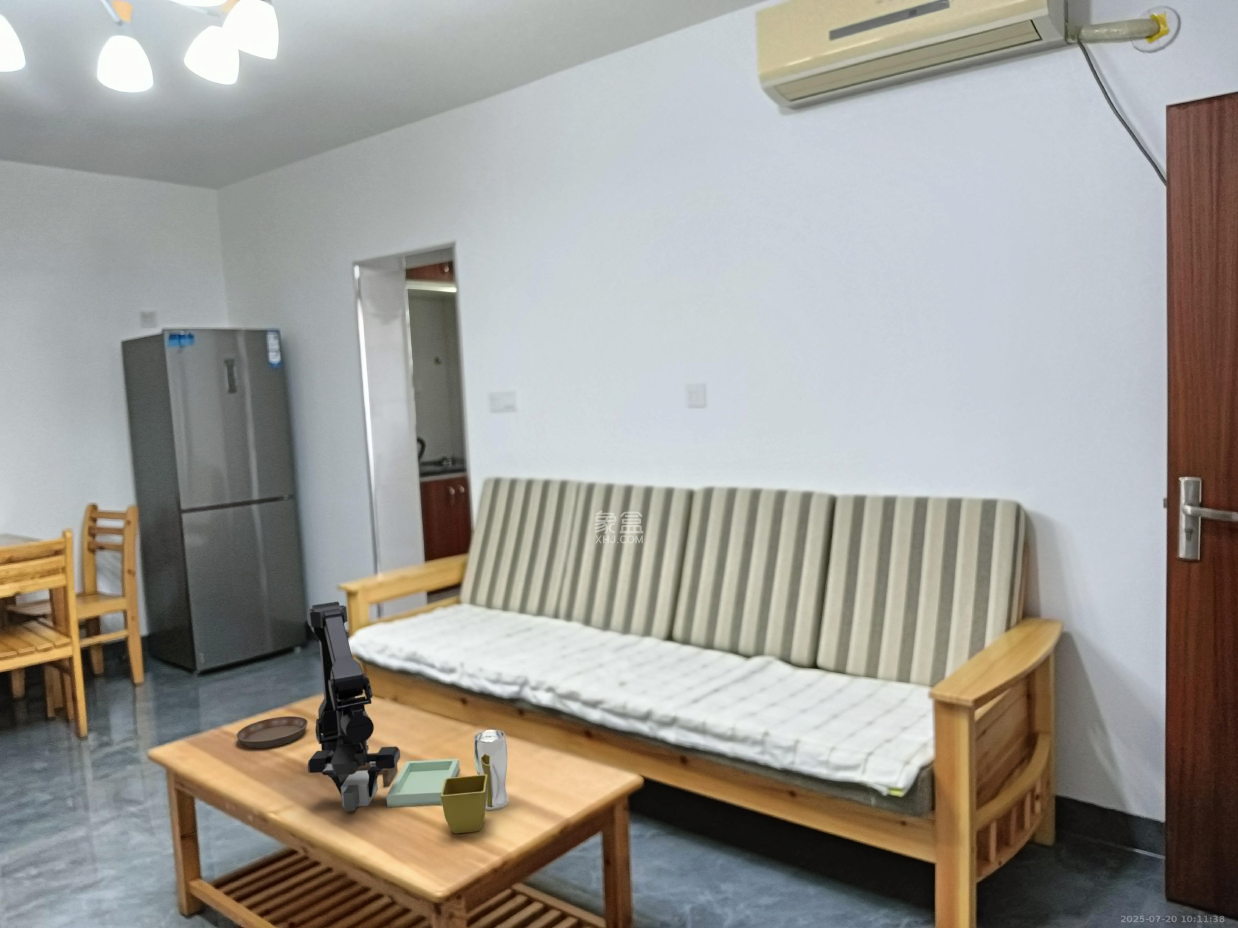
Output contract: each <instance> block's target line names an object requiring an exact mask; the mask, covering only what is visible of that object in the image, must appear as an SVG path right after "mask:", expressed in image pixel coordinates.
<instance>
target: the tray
mask: <svg viewBox="0 0 1238 928" xmlns="http://www.w3.org/2000/svg"><path fill="white" fill-rule="evenodd" d="M460 769H461V768H460V759H459V758H446V759H443V758H442V759H429V760H428V759H427V760H425V759H424V760H410V761H408V760H407V761H405V762H404V764H403V765H402V768H401V769H400V771H399V773H397V774H398V775H397V776H396V778H395V780H394V782H393V784H392V785H391V786H390V788H389V790H388V792H387V794H386V806H387V808H394V807H411V806H413V807H417V806H432V805H442V801H441V792H442V788H443V784H444V780H445V779H446V778H453V777H458V774H459V771H460Z"/></svg>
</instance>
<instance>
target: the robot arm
mask: <svg viewBox="0 0 1238 928" xmlns="http://www.w3.org/2000/svg"><path fill="white" fill-rule="evenodd" d="M347 611H348V610H347V606H346V605H344V604H343V605H340V602H339V601H332V602H326V603H325V602H324V603H318V604H312V605H311V608H310V609H309V610H306V614H307V615H306V618H307V624H308V626H309V627H310V629H311V631H312V632H313V634H314V635H315V637H316V638H317V639H318V643H319V653H320V654H319V655H320V665H321V676H322V677H321V678H322V691H323V699H322V702H321V703H320V705H319V707H318V710H317V713H318V718H316V721H315V727H314V728H315V729H314V730H315V737H316V740H317V743H318V745H320V746H321V750H316V752H314V753H313V755H312V756H311V757H310V758H309V760H308V761H307V770H308V771H307V773H309V774H313V773H314V774H315V773H316V774H317V773H322V775H323V776H328V777H329V778H331V780H332V781H333V783H334V785H335V787H336V788H337V790H338V792H339V795H340V797H342V794H341V786H342V785H343V783H344V782H345V774H348V775H352V774H354V773H356V771H357V768H359V767H360V766H365V764H366V763H370V765H371V767H370V768H369V770H368V771H367V772H368V775H369V797H372V795H373V792H374V788H375V785H376V781H377V782H378V777H379V775H380V774H379V772H381V771H382V770H383V769H390V768H394V767H395V766H396V764H397V765H398V762H400V760H401V750H400V748H399V747H397V746H396V745H395V746H383V747H382V746H381V747H380V749H379V750H378V752H374V753H372V752H370V753H368V752H369V749H370V748H369V744H368V742H367V741H368V740H369V739H370V738H371V737H372V735H373V733H374V730H375V725H374V721H373V720H372V718H371V717H370V716H369V715H368V713H367V711H366V709H365V705H366V706H367V705H370V704H372V698H373V695H374V693H373V691H372V690H373V689H372V687H371V682H370V679H369V677H368V676H367V674H366V673H365V672H363V669H362V665H361V663H360V662H359V661H357V660H355V659H354V658H353V654H352V652H351V646H350V642H349V639H348V635H347V634H348V633H347V630H346V627H345V623H347V622H348V621H349V620H348V612H347ZM363 695H365V696H363Z"/></svg>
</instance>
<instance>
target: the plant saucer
mask: <svg viewBox="0 0 1238 928" xmlns="http://www.w3.org/2000/svg"><path fill="white" fill-rule="evenodd" d="M308 722H309V721H308V720H307V718H305V717H301V716H296V715H295V716H293V715H291V716H290V715H287V716H286V715H285V716H278V717H277V716H276V717H272V718H266V719H263V720H259V721H255V722H253V723H250V724H248V725H245V726H244V727H243V728H241V729H239V730H238V732H236V738H237V739H238V741H239V742H241V744H243V745H245V746H246V747H248V748H252V749H269V748H275V747H280V746H283V745H285V744H289V743H291V742H294V741H295V740H297V739H298V738H300V737H301V735H303V733H304V732H305V730H306V728H307V726H308V724H309V723H308Z"/></svg>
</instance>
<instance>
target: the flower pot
mask: <svg viewBox="0 0 1238 928" xmlns="http://www.w3.org/2000/svg"><path fill="white" fill-rule="evenodd" d="M487 778H488V776H487V775H486V774H485V775H478V774H476V775H475V774H474V775H467V776H466V775H464V776H457V777H453V778H446V779H445V780H444V784H443V788H442V792H441V801H442V804H441V805H442V809H443V815H444V819H445V821H446V823H447V824H446V825H448V828H450V830H451V831H452V832H453V833H454V834H463V833H465V834H466V833H474V832H475V833H476V832H479V831H480V830H481V829H482V827H483V824H484V819H485V815H486V814H485V813H486V809H485V808H486V802H487Z"/></svg>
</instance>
